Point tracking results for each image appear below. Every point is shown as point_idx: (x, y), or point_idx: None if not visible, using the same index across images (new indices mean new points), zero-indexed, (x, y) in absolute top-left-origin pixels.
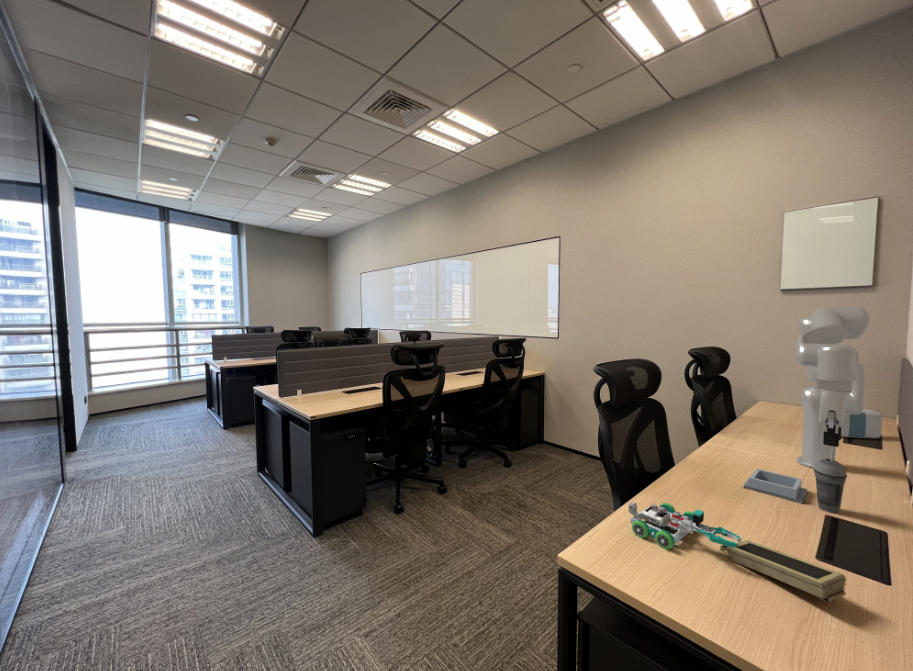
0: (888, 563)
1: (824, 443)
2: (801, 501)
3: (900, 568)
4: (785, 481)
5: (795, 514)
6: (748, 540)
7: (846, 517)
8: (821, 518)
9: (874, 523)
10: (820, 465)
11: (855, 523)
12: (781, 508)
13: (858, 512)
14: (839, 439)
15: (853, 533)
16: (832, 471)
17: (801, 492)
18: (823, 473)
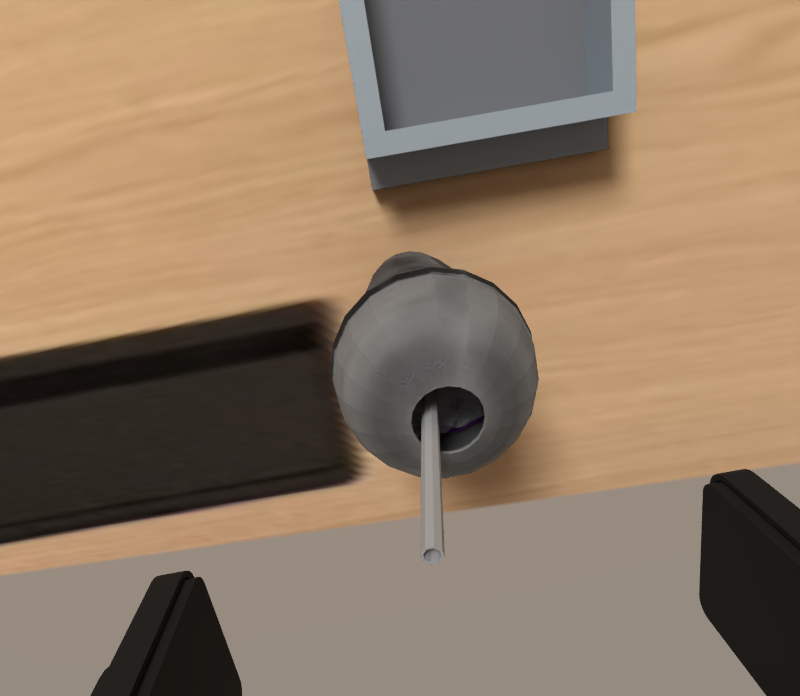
0: (55, 533)
1: (155, 594)
2: (372, 184)
3: (56, 557)
4: (594, 23)
5: (176, 211)
6: None
7: None
8: (253, 301)
9: None
10: (360, 350)
11: None
12: (186, 137)
13: None
14: (704, 608)
15: (212, 418)
16: (347, 421)
17: (513, 144)
18: (335, 357)
